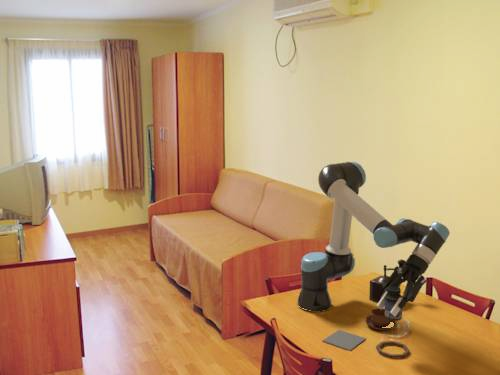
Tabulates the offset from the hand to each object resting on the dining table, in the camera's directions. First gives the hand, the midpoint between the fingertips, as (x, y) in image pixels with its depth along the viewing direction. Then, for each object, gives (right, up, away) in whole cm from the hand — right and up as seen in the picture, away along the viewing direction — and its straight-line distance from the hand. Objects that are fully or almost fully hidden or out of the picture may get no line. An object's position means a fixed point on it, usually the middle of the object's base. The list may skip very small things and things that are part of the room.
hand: (385, 310), depth 180 cm
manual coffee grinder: (+15, -7, +53) cm, 56 cm away
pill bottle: (+3, -3, +2) cm, 5 cm away
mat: (-13, -14, +13) cm, 23 cm away
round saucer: (+4, -16, +4) cm, 17 cm away
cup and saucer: (+5, -13, +25) cm, 28 cm away
